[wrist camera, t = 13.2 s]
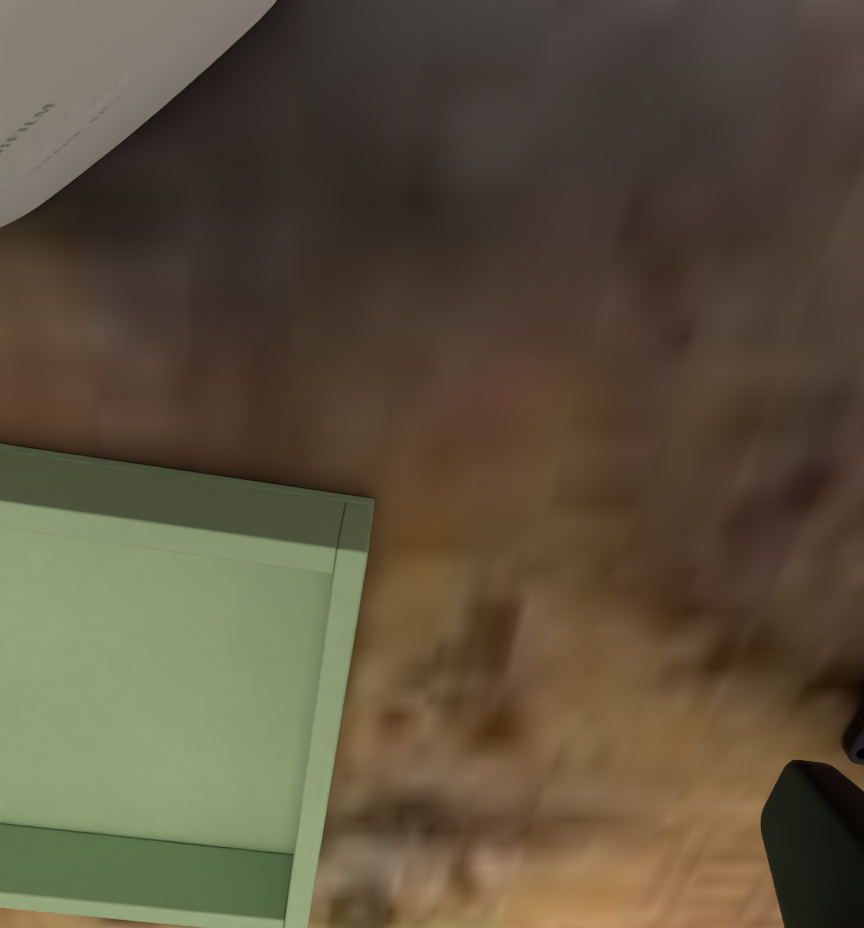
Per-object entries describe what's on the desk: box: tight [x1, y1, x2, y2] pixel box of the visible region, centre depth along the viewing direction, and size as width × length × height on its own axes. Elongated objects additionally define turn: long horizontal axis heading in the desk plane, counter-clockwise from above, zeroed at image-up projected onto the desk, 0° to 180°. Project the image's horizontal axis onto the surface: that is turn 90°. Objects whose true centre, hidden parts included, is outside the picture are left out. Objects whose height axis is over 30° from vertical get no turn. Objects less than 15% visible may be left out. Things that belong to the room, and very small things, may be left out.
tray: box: [0, 444, 375, 928], centre depth 23 cm, size 18×16×3 cm
